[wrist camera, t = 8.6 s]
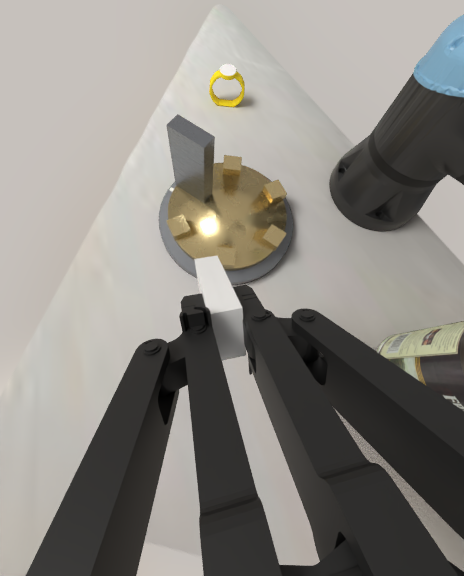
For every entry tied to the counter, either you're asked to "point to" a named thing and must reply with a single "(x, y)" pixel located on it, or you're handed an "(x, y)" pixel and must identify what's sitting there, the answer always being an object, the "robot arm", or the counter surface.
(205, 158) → the gold disc with cubes
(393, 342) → the coffee can
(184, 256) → the grey round base
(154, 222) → the counter surface
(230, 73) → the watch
